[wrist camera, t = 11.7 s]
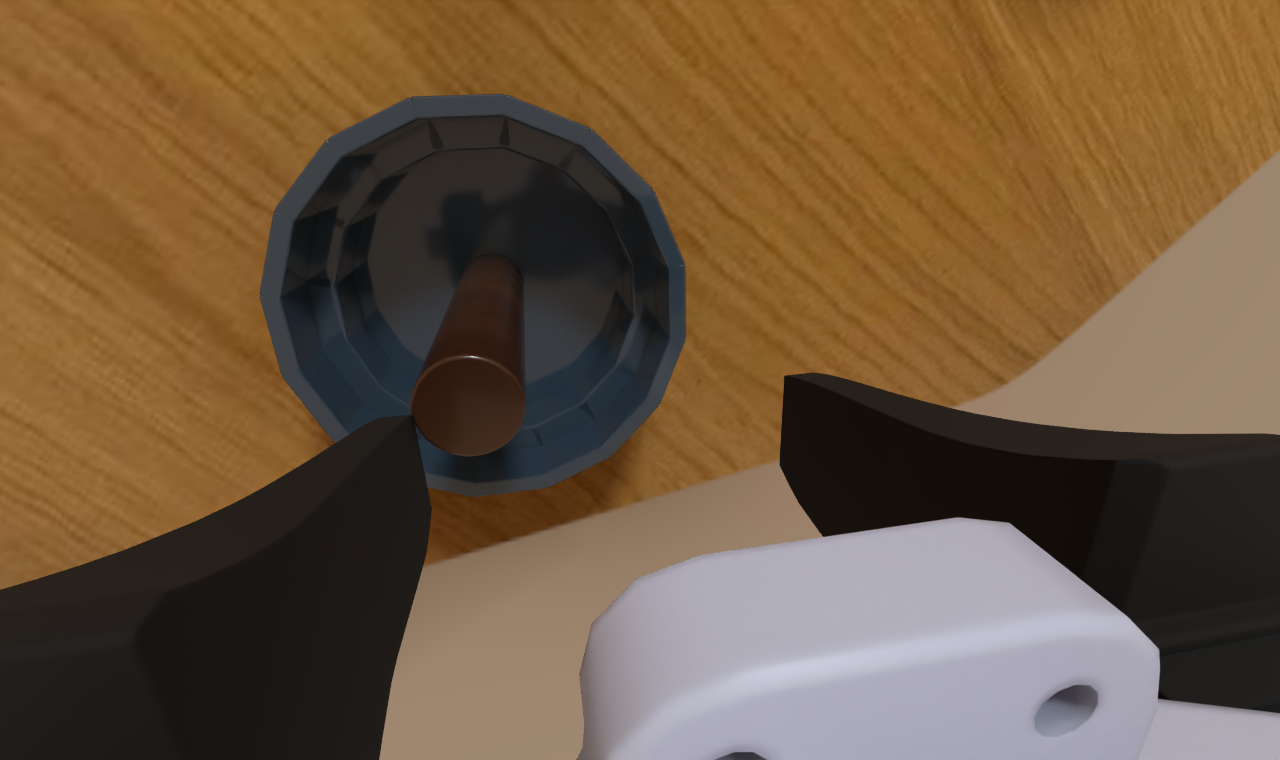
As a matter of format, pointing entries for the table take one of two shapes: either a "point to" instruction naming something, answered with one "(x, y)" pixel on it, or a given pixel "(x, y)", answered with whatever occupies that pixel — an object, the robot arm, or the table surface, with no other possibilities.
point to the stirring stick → (476, 363)
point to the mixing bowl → (436, 258)
